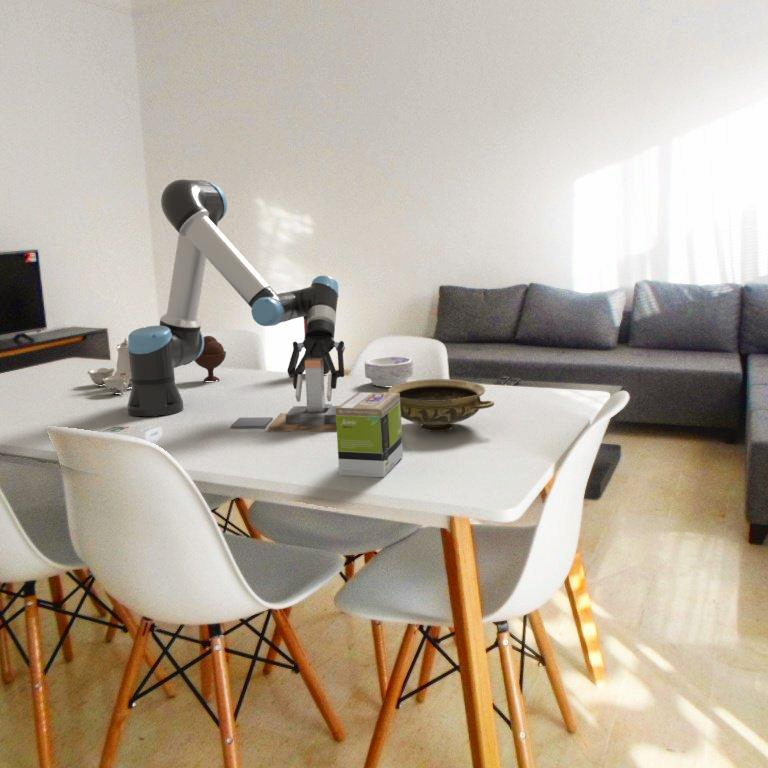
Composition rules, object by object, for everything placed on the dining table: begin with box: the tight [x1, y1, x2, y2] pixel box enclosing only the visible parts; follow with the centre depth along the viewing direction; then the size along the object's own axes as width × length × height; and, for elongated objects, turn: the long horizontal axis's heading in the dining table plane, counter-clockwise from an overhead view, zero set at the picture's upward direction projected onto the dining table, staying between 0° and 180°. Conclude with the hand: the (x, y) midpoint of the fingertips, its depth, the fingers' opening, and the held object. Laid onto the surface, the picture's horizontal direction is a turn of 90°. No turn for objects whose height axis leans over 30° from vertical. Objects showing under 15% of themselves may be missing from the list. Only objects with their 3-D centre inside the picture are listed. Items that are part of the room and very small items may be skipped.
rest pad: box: [230, 416, 274, 429], centre depth 213 cm, size 9×9×1 cm
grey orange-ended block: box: [304, 358, 326, 413], centre depth 210 cm, size 4×4×17 cm
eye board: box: [268, 403, 339, 432], centre depth 211 cm, size 22×14×4 cm, turn 85°
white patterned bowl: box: [364, 356, 414, 387], centre depth 258 cm, size 15×15×8 cm
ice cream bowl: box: [193, 335, 227, 381], centre depth 272 cm, size 11×11×15 cm
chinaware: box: [86, 337, 132, 395], centre depth 264 cm, size 28×17×17 cm, turn 40°
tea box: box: [336, 391, 404, 478], centre depth 172 cm, size 15×10×15 cm, turn 163°
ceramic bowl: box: [382, 378, 495, 432], centre depth 203 cm, size 30×24×10 cm
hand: (313, 398), depth 206 cm, fingers open, 7 cm apart
